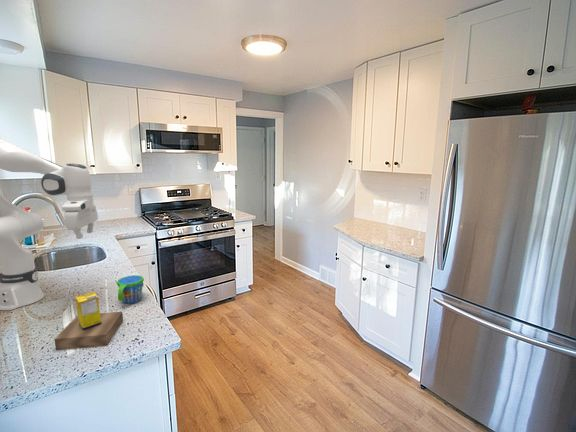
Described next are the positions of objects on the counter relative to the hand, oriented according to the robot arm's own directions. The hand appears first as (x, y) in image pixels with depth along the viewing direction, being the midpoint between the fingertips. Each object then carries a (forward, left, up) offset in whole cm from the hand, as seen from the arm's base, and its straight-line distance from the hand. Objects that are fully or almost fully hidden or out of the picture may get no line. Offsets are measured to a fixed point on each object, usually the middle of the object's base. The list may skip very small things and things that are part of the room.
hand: (85, 235), depth 130 cm
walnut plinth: (+10, -26, -31) cm, 42 cm away
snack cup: (+16, 0, -31) cm, 35 cm away
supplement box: (+10, -26, -27) cm, 39 cm away
